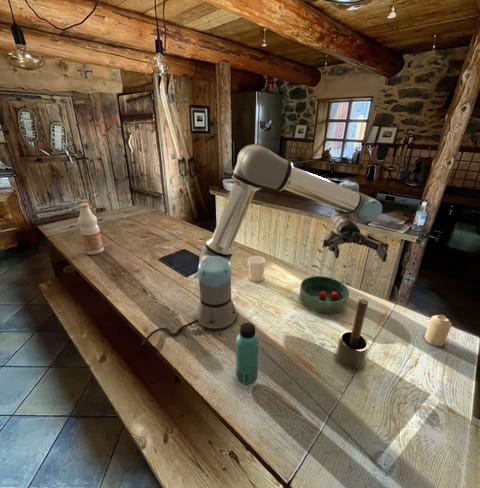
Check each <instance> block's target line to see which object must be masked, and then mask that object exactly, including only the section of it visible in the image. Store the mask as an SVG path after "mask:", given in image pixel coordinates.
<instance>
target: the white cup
mask: <svg viewBox="0 0 480 488" xmlns="http://www.w3.org/2000/svg"><path fill="white" fill-rule="evenodd" d="M247 262H248V277H249V280H250V281H251V282H260V281H263V280H264V274H265V268H266V267H265V266H266V259H265V258H264V257H263V256H260V255H252V256H249V257H248V261H247Z"/></svg>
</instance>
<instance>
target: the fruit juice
mask: <svg viewBox="0 0 480 488" xmlns="http://www.w3.org/2000/svg"><path fill="white" fill-rule="evenodd" d="M78 208H79V209H80V211H79V216H78V218H77V222H78V224H79V226H80V228H79V230H80V235H81V239H82V243H83V246H84V250H85V254H87V255H91V256H93V255H98V254H101V253H103V252H104V250H105V247H104V242H103V239H102V234H101V233H102V232H101V230H100V226H99V225H98V218H97V216H96V215H95V214H94V213H93V212H92V211H91V208H90V204H89V203H87V202H85V203H80V204H79V205H78Z"/></svg>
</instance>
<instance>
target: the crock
mask: <svg viewBox="0 0 480 488" xmlns="http://www.w3.org/2000/svg"><path fill="white" fill-rule="evenodd" d="M351 333H352V330H346V331H345V330H344V331H343V332H341V333H340V334H339V338H338V341H337V342H338V343H337V348H336V352H335V357H336V360H337V361H338V363H340V364H341V365H342V366H344V368H347V369H349V370H360V369H362V368H363V367H364V365H365V362H366V357H367V353H368V350H369V347H370V343H369V340H368V339H367V338H366V336H364V335H363V334H362V333H361V334H360V338H359V342H358V346H357V349H353V348H350V347H349V342H350V338H351Z"/></svg>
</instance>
